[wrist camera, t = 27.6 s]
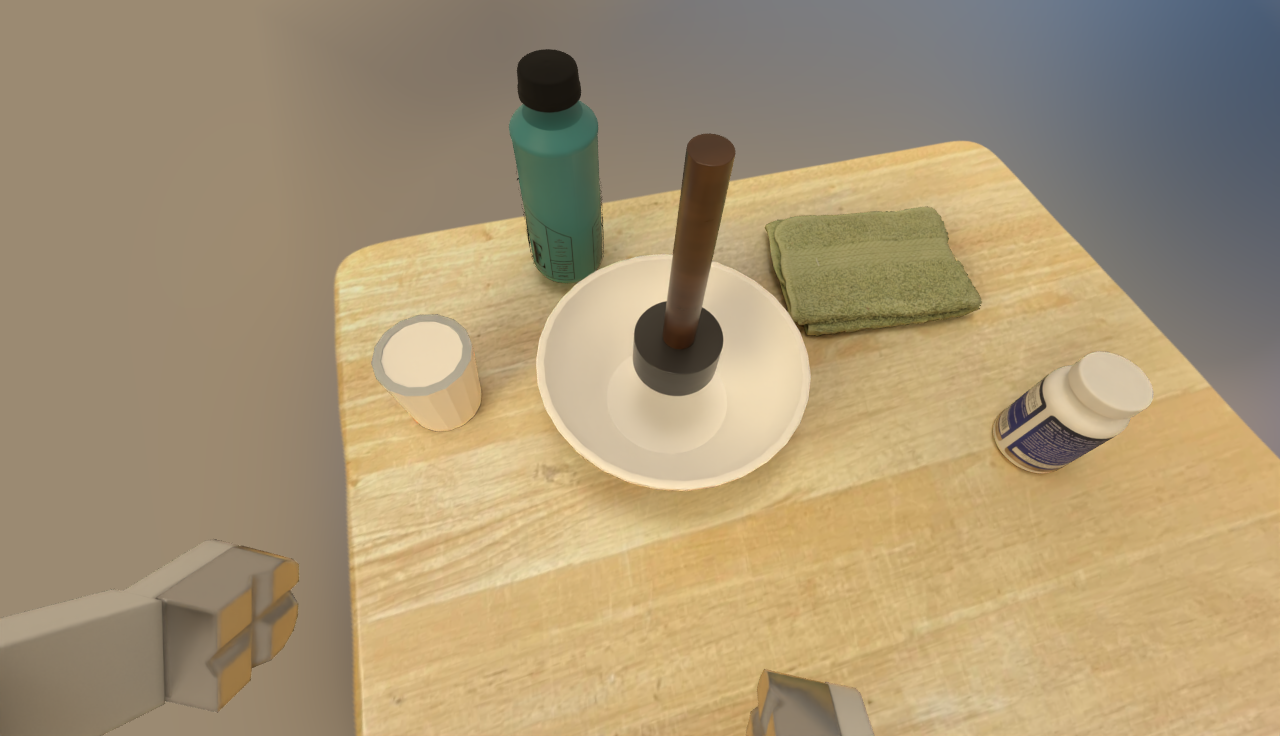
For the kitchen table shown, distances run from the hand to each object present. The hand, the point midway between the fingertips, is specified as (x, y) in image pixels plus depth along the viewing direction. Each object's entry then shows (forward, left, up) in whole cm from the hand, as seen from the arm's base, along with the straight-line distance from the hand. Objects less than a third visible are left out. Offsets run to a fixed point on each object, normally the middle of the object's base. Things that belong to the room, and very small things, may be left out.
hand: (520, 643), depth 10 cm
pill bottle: (+10, +37, -32) cm, 50 cm away
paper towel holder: (-12, +18, -24) cm, 33 cm away
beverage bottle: (-28, +21, -32) cm, 47 cm away
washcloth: (-9, +41, -32) cm, 53 cm away
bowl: (-12, +18, -32) cm, 38 cm away
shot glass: (-24, +5, -32) cm, 40 cm away
